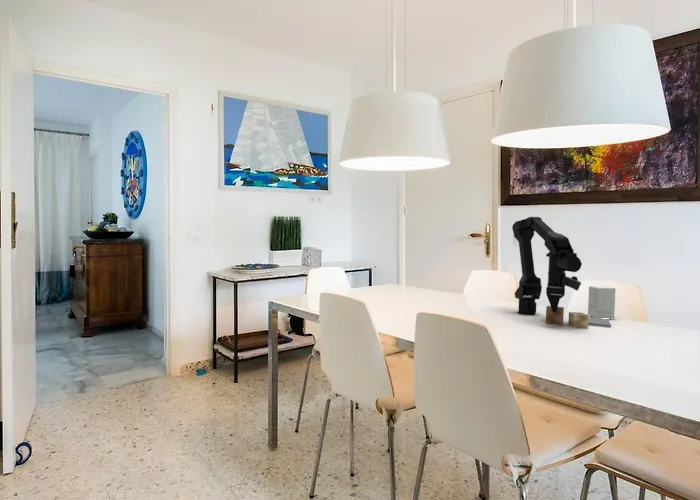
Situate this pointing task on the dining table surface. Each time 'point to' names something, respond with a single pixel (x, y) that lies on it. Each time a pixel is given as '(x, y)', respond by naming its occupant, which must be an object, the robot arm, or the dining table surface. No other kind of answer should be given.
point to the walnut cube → (554, 316)
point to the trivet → (598, 322)
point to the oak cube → (578, 320)
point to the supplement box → (601, 302)
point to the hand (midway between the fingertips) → (554, 310)
